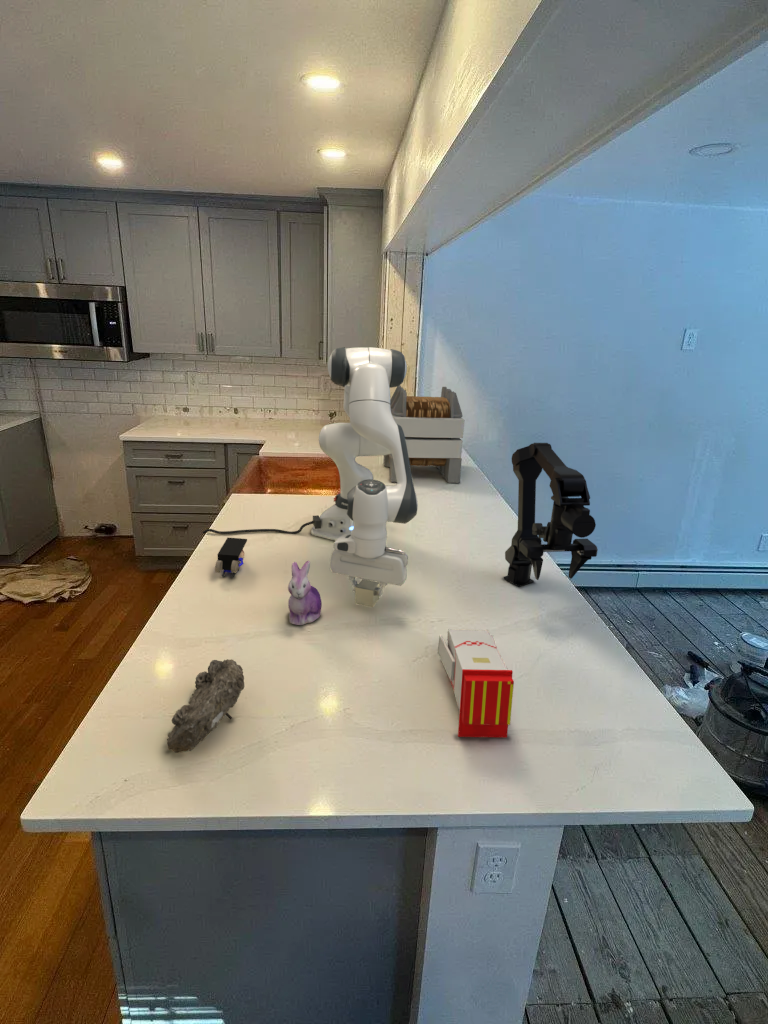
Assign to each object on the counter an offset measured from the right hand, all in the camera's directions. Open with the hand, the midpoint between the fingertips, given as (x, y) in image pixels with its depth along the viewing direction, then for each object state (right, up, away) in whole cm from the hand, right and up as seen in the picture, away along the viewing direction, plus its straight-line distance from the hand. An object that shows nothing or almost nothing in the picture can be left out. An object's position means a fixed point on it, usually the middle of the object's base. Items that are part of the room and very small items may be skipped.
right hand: (553, 578), depth 146 cm
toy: (-26, -20, -28) cm, 43 cm away
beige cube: (-48, -6, +2) cm, 49 cm away
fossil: (-77, -22, -38) cm, 88 cm away
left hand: (-48, -4, +2) cm, 48 cm away
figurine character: (-89, 0, +21) cm, 91 cm away
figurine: (-64, -10, -2) cm, 65 cm away
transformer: (-27, +36, +129) cm, 136 cm away
